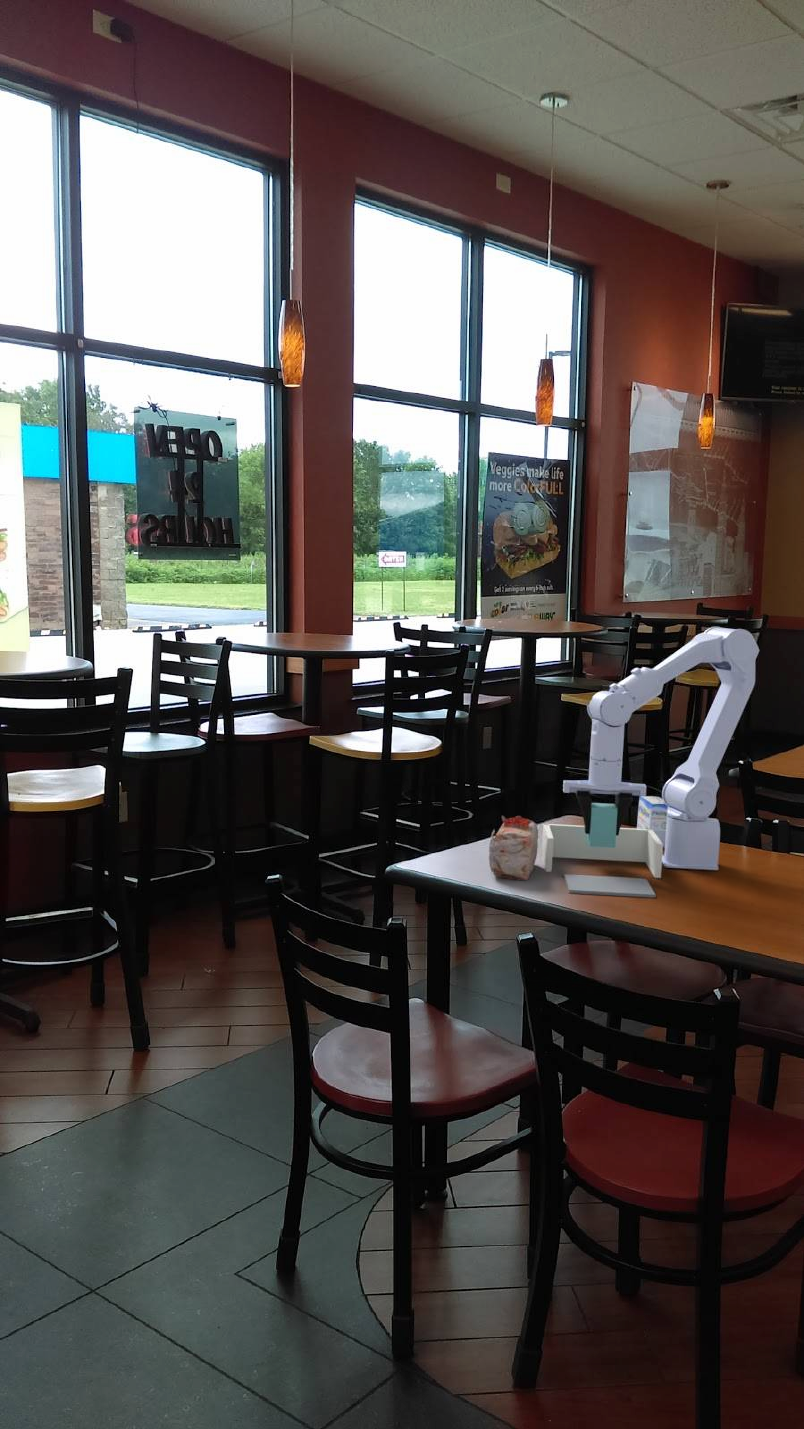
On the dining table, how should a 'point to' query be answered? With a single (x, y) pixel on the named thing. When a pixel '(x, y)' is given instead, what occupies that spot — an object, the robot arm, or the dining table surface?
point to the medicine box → (653, 816)
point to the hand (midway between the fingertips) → (601, 833)
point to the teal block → (602, 825)
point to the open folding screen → (627, 847)
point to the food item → (514, 848)
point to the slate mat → (609, 885)
